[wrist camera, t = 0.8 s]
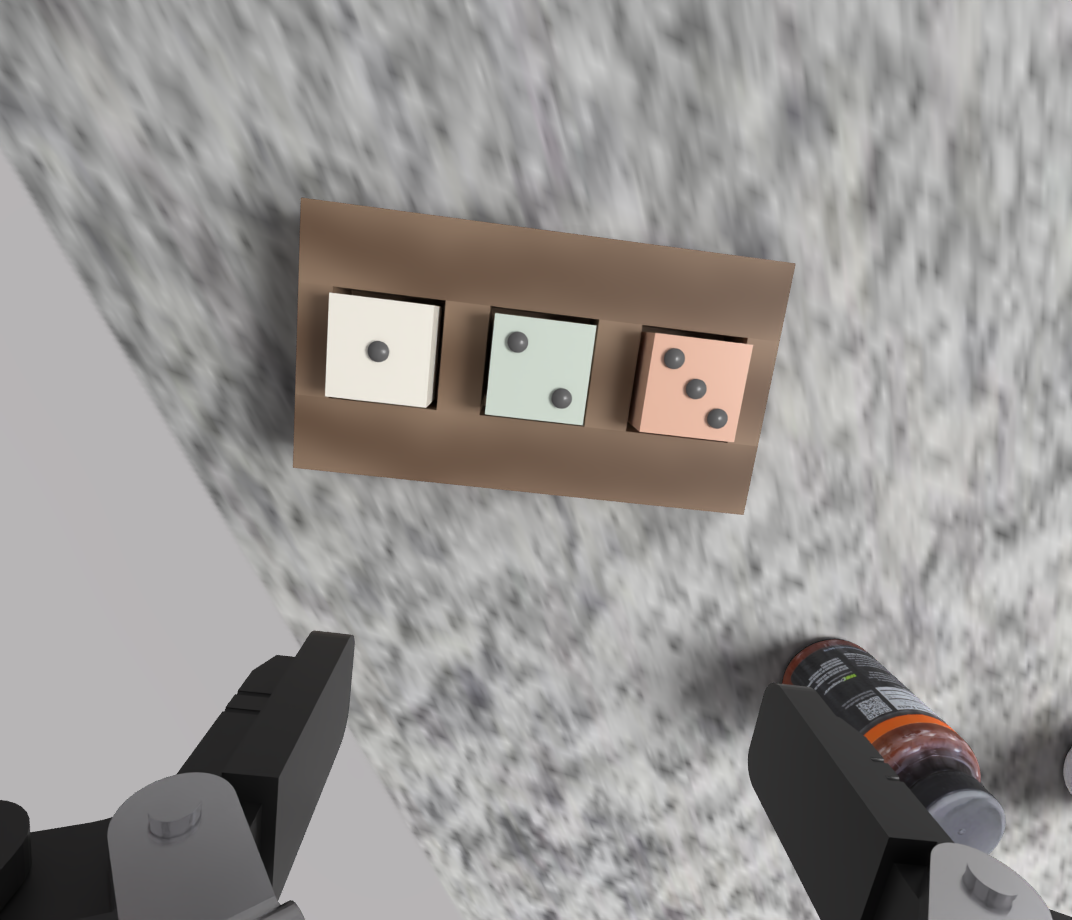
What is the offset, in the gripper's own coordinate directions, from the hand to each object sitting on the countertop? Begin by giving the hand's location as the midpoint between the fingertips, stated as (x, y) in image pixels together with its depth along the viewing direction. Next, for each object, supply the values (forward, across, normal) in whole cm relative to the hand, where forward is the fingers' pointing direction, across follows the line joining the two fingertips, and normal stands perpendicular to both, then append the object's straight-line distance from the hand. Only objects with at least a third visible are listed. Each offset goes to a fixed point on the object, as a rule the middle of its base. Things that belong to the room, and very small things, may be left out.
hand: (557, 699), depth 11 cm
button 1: (+19, +7, -5) cm, 21 cm away
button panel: (+22, 0, -5) cm, 22 cm away
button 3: (+19, -7, -5) cm, 21 cm away
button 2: (+19, 0, -5) cm, 20 cm away
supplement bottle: (+22, -20, +12) cm, 32 cm away
